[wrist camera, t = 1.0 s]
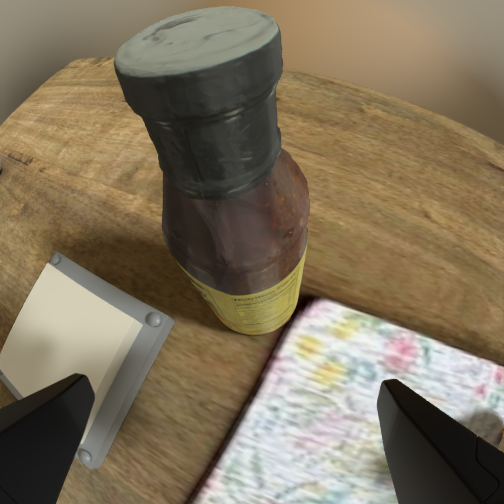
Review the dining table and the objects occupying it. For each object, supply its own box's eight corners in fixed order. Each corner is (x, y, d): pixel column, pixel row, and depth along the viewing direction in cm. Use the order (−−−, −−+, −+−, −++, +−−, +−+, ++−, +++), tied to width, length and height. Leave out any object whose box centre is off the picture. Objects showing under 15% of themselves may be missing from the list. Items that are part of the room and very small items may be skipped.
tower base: (100, 467, 18) (79, 471, 15) (4, 374, 21) (-16, 367, 19) (175, 321, 23) (161, 309, 21) (64, 258, 27) (48, 243, 24)
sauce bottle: (216, 264, 25) (120, 14, 8) (295, 260, 25) (301, -13, 7) (214, 345, 22) (26, 126, 5) (300, 342, 22) (358, 73, 4)
